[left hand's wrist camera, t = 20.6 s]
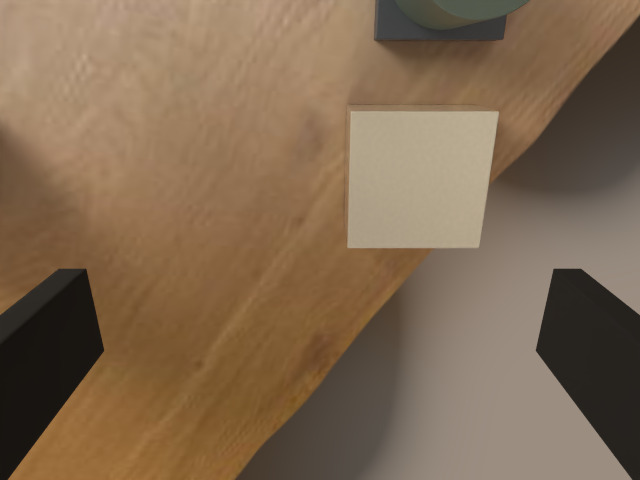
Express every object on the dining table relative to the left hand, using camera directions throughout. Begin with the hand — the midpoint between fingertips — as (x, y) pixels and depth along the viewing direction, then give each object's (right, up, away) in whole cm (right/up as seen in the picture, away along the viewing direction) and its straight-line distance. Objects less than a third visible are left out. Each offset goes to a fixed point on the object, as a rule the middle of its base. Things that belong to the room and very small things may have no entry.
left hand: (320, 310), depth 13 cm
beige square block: (+7, +8, +23) cm, 26 cm away
